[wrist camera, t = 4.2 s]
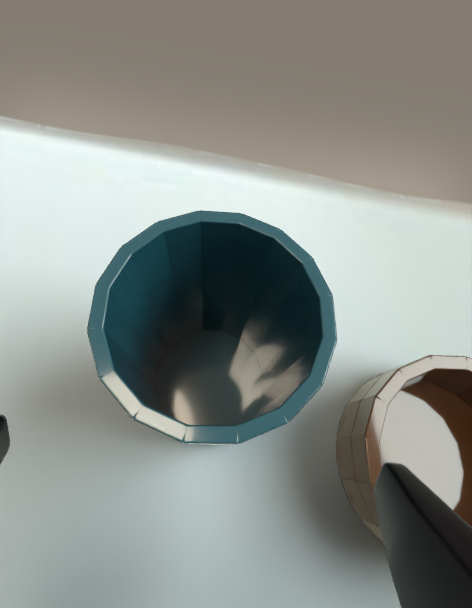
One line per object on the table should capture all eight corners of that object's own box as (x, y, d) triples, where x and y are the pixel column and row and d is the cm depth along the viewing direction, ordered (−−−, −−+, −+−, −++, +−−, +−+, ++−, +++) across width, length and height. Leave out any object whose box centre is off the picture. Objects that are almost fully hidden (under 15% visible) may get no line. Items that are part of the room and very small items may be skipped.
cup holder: (543, 513, 18) (624, 529, 15) (393, 601, 16) (446, 645, 13) (442, 348, 21) (489, 329, 18) (306, 406, 19) (328, 397, 16)
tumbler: (285, 417, 19) (380, 383, 9) (172, 465, 17) (126, 492, 7) (242, 313, 21) (276, 188, 11) (137, 349, 20) (65, 245, 9)
